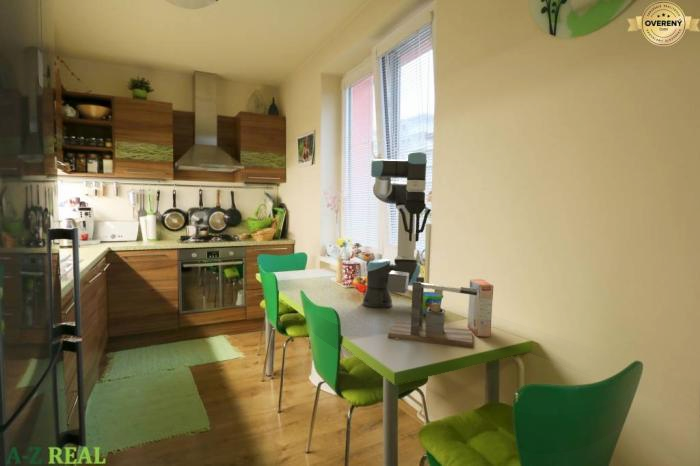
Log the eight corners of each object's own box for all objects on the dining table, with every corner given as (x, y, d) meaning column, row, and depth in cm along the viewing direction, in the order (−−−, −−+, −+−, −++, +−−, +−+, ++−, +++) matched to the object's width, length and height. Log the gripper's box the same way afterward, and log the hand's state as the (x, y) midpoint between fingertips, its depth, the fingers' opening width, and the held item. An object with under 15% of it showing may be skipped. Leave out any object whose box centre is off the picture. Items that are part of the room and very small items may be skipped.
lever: (391, 286, 161) (392, 270, 160) (475, 299, 152) (477, 281, 151) (386, 291, 152) (388, 273, 151) (476, 305, 143) (478, 286, 142)
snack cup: (431, 310, 193) (431, 289, 193) (449, 314, 186) (450, 293, 185) (411, 315, 183) (412, 293, 182) (430, 320, 175) (431, 298, 174)
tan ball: (430, 311, 154) (431, 301, 154) (440, 312, 153) (441, 302, 153) (429, 313, 150) (430, 303, 150) (440, 314, 149) (440, 304, 149)
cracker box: (491, 337, 153) (494, 285, 152) (476, 337, 153) (478, 284, 152) (481, 327, 167) (483, 278, 166) (467, 326, 167) (469, 278, 166)
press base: (395, 326, 165) (396, 274, 163) (471, 334, 156) (473, 280, 155) (387, 337, 149) (389, 281, 148) (472, 347, 141) (475, 287, 139)
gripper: (398, 190, 155) (396, 249, 156) (431, 191, 151) (429, 251, 153) (400, 191, 162) (398, 247, 164) (432, 191, 159) (430, 249, 160)
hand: (413, 249), depth 158 cm, fingers closed
